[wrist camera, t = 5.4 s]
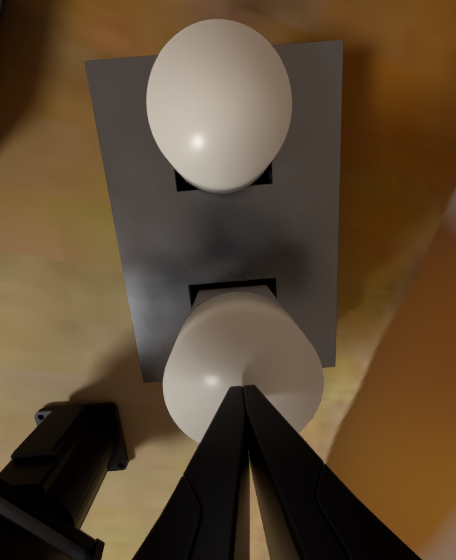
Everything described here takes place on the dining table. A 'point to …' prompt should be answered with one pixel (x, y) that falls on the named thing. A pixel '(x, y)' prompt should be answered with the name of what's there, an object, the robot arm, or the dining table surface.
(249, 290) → the knob
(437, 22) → the dining table surface
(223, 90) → the knob
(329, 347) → the mount
